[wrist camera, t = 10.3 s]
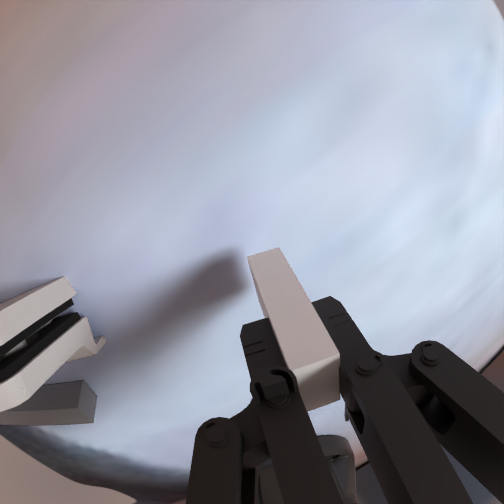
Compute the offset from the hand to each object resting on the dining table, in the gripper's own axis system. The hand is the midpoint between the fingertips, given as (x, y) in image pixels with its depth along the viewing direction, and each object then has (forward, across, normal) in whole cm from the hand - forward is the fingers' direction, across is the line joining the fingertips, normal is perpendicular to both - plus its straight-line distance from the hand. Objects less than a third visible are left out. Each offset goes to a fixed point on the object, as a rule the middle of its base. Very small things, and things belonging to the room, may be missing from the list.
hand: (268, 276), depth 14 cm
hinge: (+2, +18, -1) cm, 19 cm away
